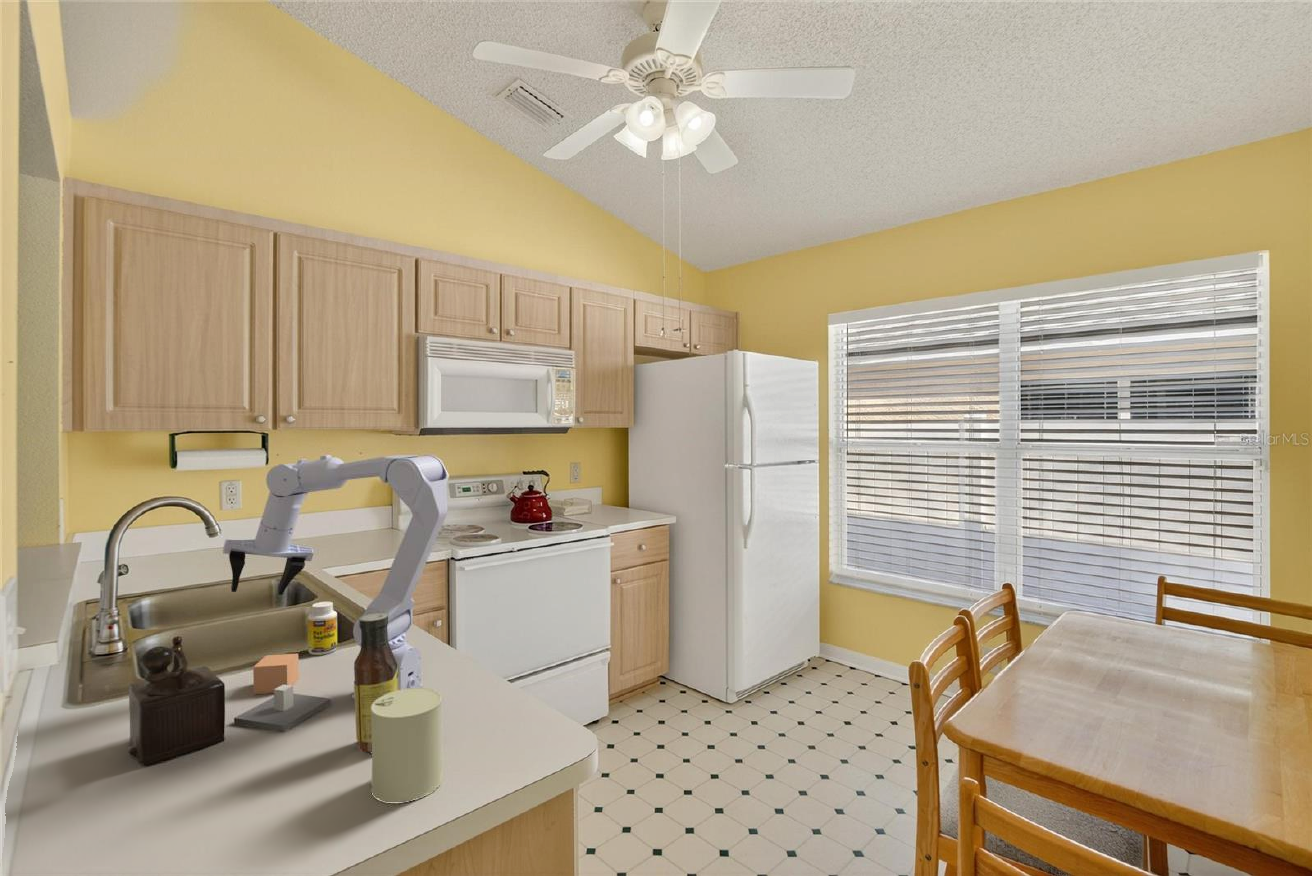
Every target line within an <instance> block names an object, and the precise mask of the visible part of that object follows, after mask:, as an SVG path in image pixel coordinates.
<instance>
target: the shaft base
mask: <svg viewBox="0 0 1312 876" xmlns="http://www.w3.org/2000/svg"><path fill="white" fill-rule="evenodd" d="M331 699H332V698H328V697H320V696H314V695H309V694H308V695H306V694H302V693H301V694H299V693H294V685H293V686H291V685H282V686H280V687H278V688H276V689H274V693H273V697H271V698H270V699H268V700H266V701H263V702H262V703H260V704H258V705H256V706H254V707H252V708H250V709H249V710H247V711H246V710H245V711H244V712H243V713H241V714H238V715H237V716H235V717H234V718H233V725H238V726H239V725H240V726H246V727H252V728H258V729H259V728H260V729H265V730H272V731H277V732H278V731H279V732H286V731H288V730H290V729H291V728H293V727H295V726H297V725H298V724H300V723H301V722H303V721H305V720H306V719H308V718H310V717H312V716H314V715H315V714H316V713H319V712H320V711H322V710H323V709H325V708H327V707H329V706H330V705H331V703H332V702H331V701H332V700H331Z"/></svg>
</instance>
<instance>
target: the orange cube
mask: <svg viewBox="0 0 1312 876" xmlns="http://www.w3.org/2000/svg"><path fill="white" fill-rule="evenodd" d="M252 671H253V672H252V673H253V676H252V677H253V695H261V694H263V695H265V694H274V689H276V688H278V687H280V686H282V685H291V686H293V687H294V685H295V684H296V683H297V682H298V681H299V679H300V678H299V677H300V674H299V653H287V654H285V653H284V654H273V655H272V654H271V655H270V654H269V655H268V654H267V655H265V656H264V657H263V658H261V659H260V660H259V661H258V662H257V663H256V664H255V665H254V666H253V667H252Z"/></svg>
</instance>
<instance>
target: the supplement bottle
mask: <svg viewBox="0 0 1312 876" xmlns="http://www.w3.org/2000/svg"><path fill="white" fill-rule="evenodd" d="M337 649H338V612H337V611H335V610H334V603H333V602H332V601H320V602H315V603H313V604H312V605H311V612H310V614H309V615H308V616H307V650H308V653H309V655H313V656H324V655H328V654H332V653H333V652H335V651H336V650H337Z"/></svg>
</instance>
